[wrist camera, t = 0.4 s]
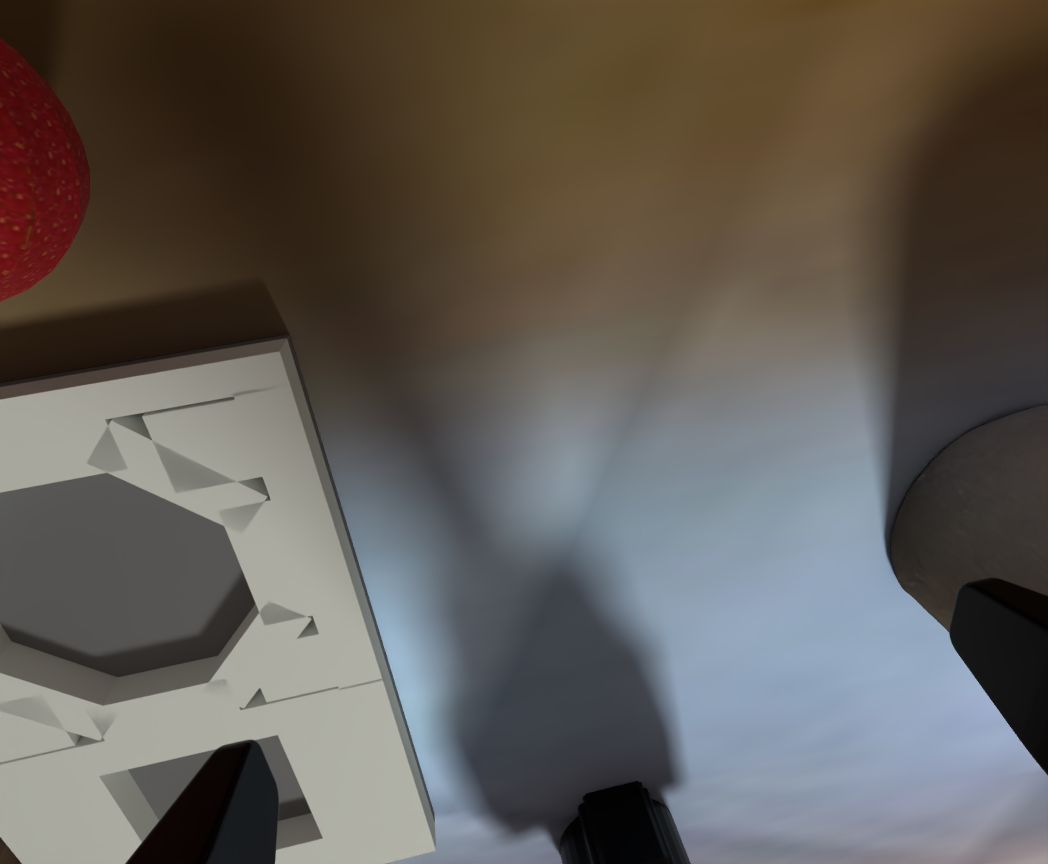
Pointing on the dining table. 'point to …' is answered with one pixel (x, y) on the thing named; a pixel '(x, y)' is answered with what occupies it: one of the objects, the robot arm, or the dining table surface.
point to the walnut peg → (7, 854)
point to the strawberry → (36, 176)
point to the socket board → (188, 613)
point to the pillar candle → (977, 514)
